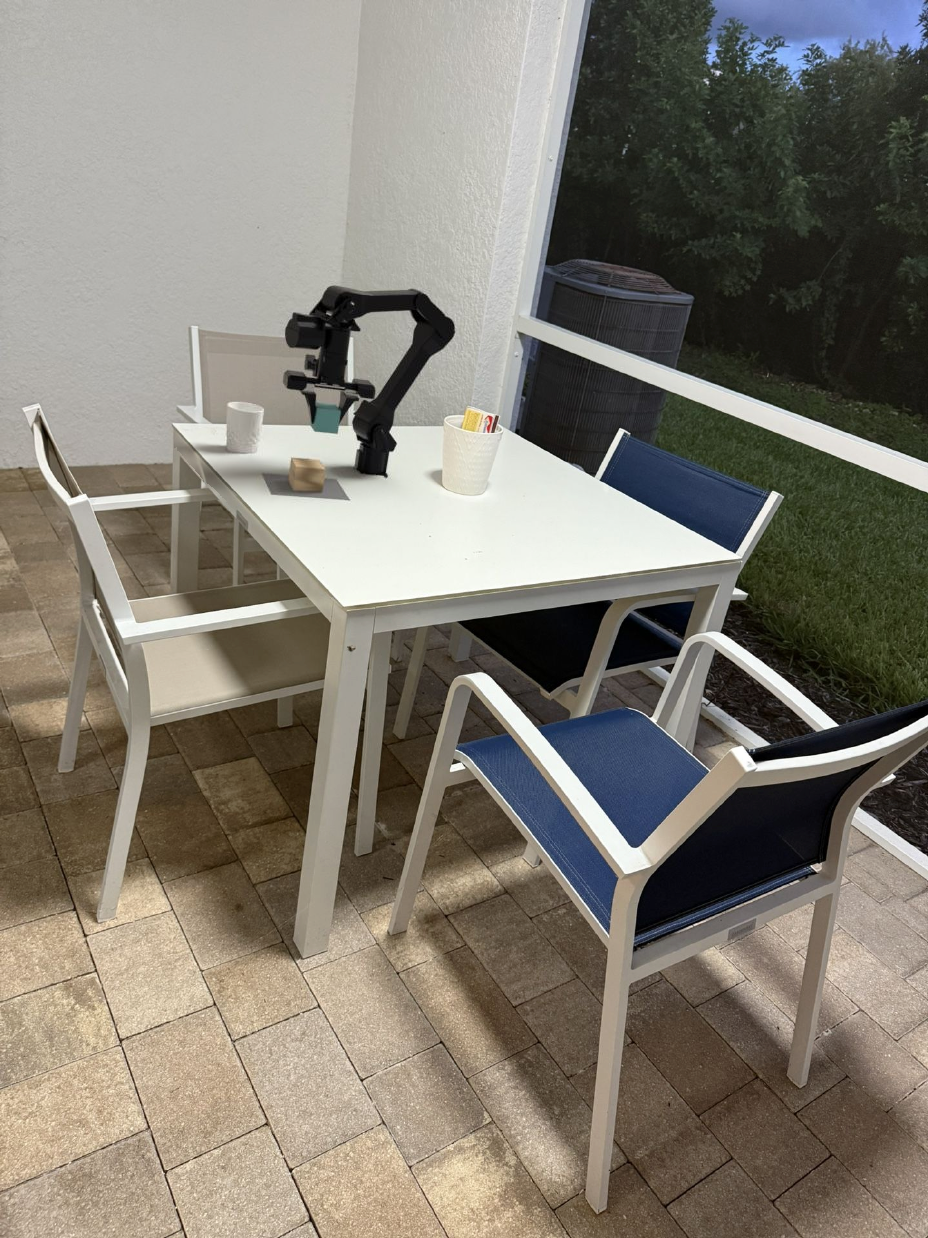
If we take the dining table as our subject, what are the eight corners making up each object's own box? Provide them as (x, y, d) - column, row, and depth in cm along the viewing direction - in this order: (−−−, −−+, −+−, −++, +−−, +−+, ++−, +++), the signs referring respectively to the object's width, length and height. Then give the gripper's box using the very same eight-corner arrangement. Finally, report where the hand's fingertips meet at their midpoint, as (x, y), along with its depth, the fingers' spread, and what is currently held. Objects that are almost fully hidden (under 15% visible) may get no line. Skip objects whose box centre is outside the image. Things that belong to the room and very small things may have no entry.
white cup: (220, 444, 205) (223, 400, 201) (255, 446, 209) (259, 403, 205) (227, 455, 199) (231, 410, 195) (263, 457, 203) (268, 413, 199)
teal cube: (332, 427, 199) (335, 404, 197) (337, 433, 195) (340, 410, 192) (310, 424, 197) (312, 402, 195) (314, 431, 193) (317, 408, 191)
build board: (336, 481, 197) (336, 478, 197) (349, 502, 187) (350, 499, 186) (261, 475, 191) (261, 472, 191) (271, 496, 181) (271, 494, 180)
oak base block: (316, 482, 192) (319, 459, 190) (322, 492, 187) (325, 469, 185) (288, 480, 190) (291, 457, 188) (293, 490, 185) (296, 466, 183)
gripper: (368, 348, 199) (357, 418, 205) (282, 336, 192) (274, 409, 198) (381, 360, 190) (369, 433, 196) (291, 347, 183) (283, 424, 189)
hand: (324, 424), depth 195 cm, fingers closed on teal cube, 5 cm apart
